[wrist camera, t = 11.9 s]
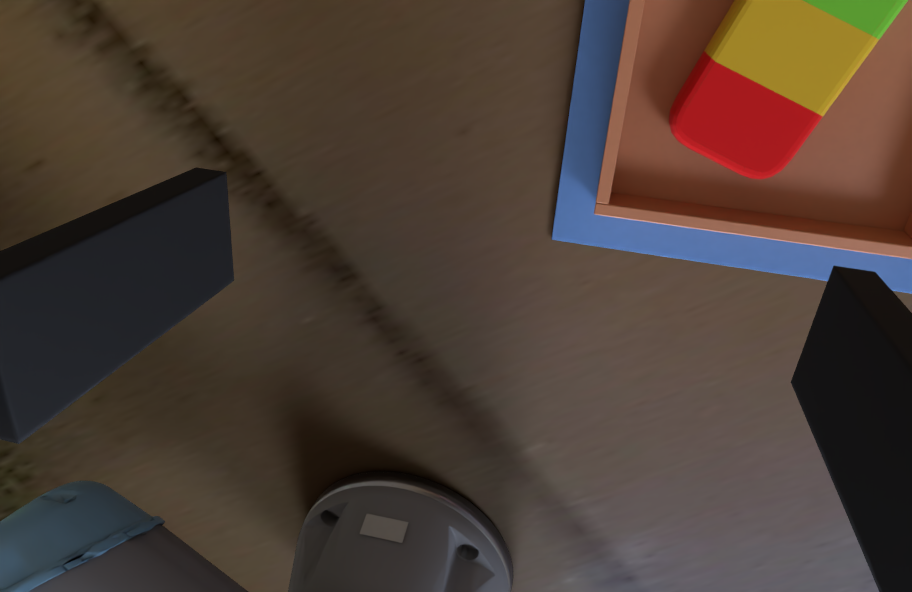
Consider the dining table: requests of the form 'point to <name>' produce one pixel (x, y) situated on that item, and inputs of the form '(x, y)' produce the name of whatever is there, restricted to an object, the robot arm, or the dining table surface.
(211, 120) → the dining table surface
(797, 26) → the popsicle
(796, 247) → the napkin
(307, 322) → the dining table surface
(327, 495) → the robot arm
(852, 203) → the tray
